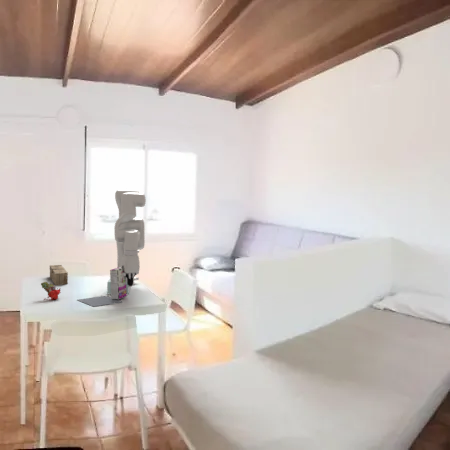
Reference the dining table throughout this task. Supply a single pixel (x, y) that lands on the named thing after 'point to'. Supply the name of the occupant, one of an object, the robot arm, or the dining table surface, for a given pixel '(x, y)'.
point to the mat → (99, 301)
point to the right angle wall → (110, 287)
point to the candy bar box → (118, 283)
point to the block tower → (58, 275)
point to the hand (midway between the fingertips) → (130, 285)
